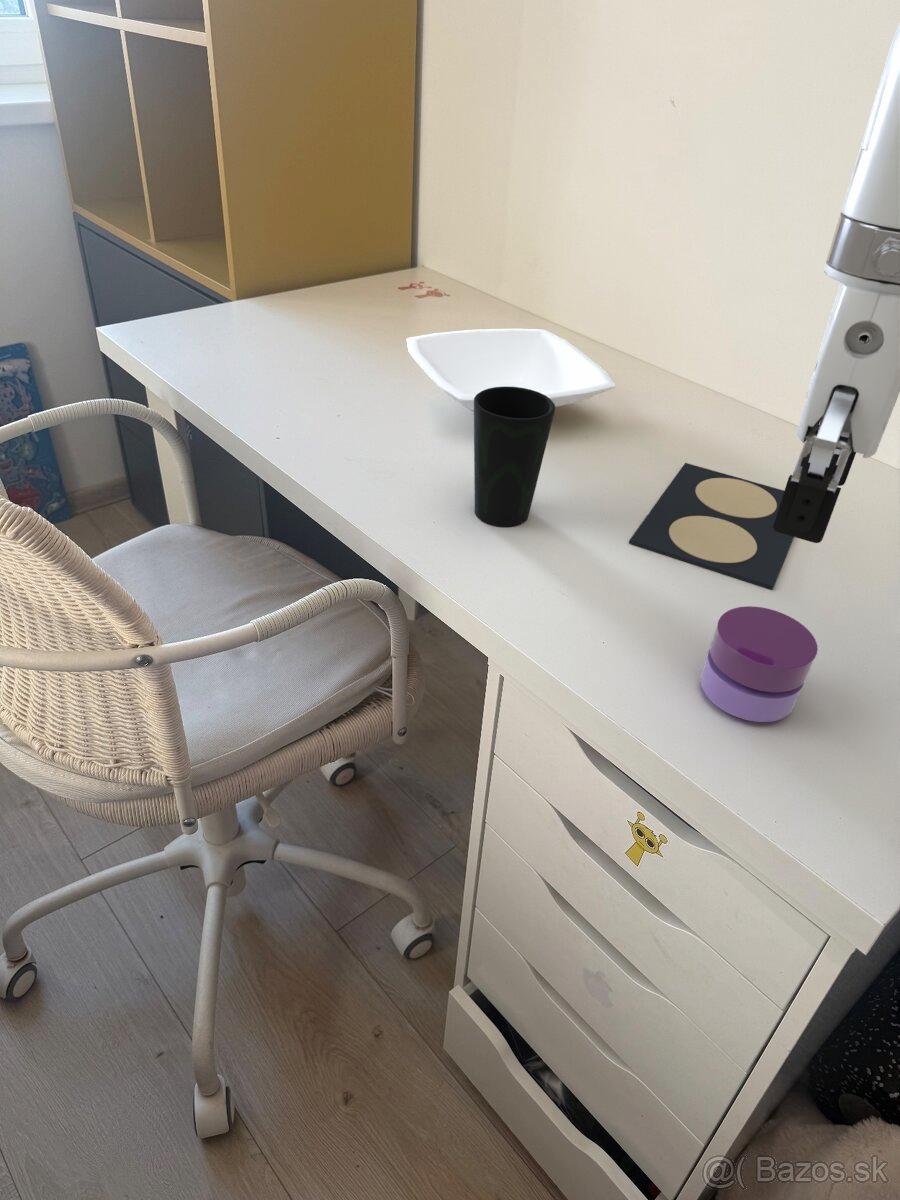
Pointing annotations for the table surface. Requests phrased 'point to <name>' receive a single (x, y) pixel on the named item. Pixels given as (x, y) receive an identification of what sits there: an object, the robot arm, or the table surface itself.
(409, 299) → the table surface
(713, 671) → the lavender short cylinder
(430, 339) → the bowl
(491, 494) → the cup
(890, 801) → the table surface
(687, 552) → the placemat
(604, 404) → the table surface
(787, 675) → the purple short cylinder
